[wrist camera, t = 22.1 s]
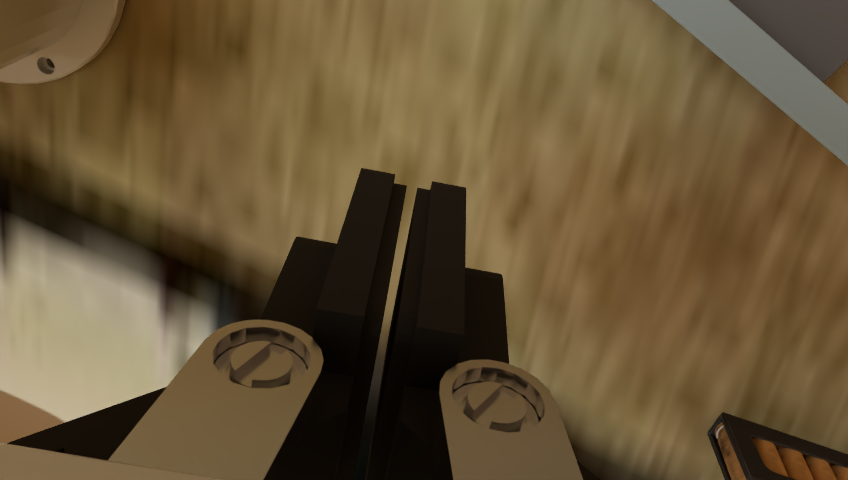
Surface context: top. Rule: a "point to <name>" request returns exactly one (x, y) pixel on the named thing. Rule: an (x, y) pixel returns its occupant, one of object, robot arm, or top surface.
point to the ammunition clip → (771, 453)
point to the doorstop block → (804, 30)
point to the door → (766, 68)
